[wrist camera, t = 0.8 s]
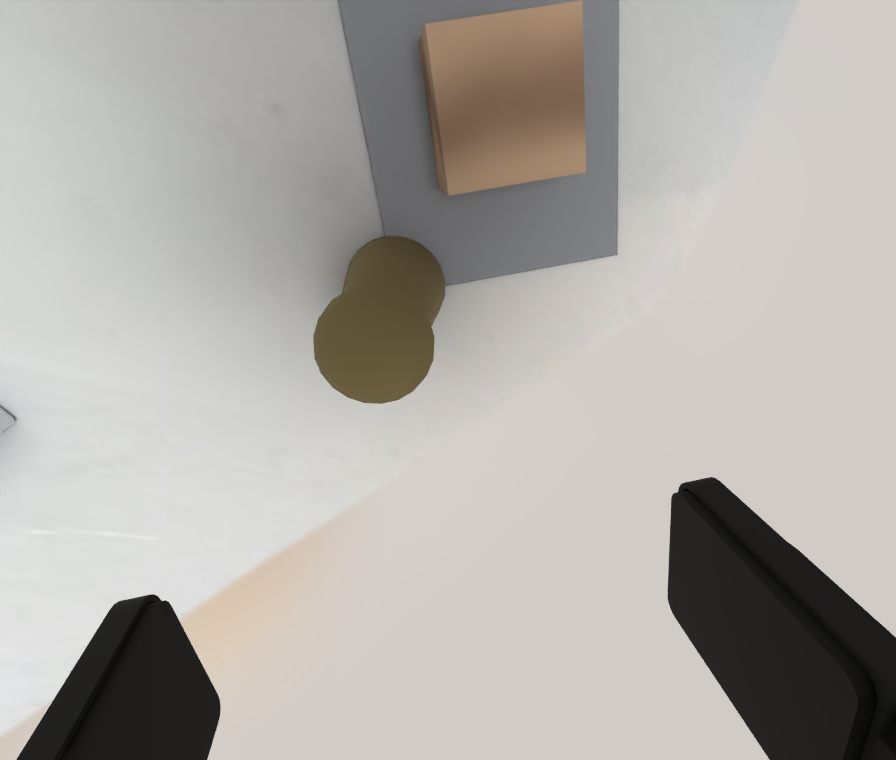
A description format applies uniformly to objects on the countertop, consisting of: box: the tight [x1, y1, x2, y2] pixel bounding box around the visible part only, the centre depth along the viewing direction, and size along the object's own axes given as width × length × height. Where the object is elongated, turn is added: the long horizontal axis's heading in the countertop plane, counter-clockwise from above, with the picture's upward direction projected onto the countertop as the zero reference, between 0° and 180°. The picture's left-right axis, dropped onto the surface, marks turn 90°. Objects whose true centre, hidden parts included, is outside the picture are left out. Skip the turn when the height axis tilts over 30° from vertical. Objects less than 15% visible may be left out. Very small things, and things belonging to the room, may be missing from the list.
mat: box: [338, 0, 619, 286], centre depth 26 cm, size 18×14×1 cm
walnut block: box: [418, 0, 586, 196], centre depth 24 cm, size 7×7×4 cm
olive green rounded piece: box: [314, 236, 445, 404], centre depth 25 cm, size 6×6×11 cm
